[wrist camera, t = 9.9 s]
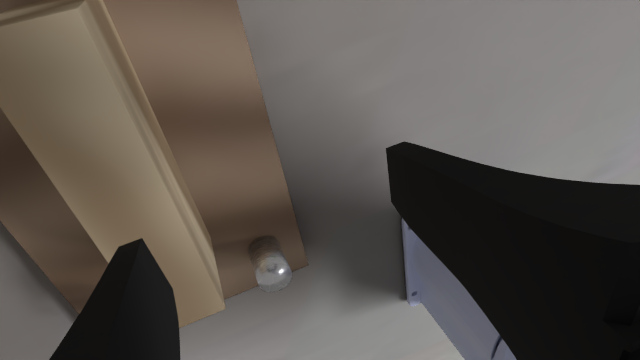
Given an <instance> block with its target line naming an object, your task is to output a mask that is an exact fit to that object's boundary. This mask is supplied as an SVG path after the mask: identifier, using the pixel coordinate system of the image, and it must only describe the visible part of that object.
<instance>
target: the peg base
mask: <svg viewBox="0 0 640 360" xmlns="http://www.w3.org/2000/svg"><path fill="white" fill-rule="evenodd" d="M40 1H44V0H0V14H1V13H3V12H4V11H6V10H8V9H10V8H14V7H18V6H23V5H27V4H31V3H35V2H40ZM103 2H104V4H105V6H106V8H107V11H108V13H109V15H110V17H111V19H112V22H113V24H114V26H115V28H116V30H117V33H118V35H119V37H120V39H121V41H122V44H123V46H124V48H125V50H126V52H127V55H128V57H129V59H130V61H131V63H132V66H133V68H134V70H135V72H136V74H137V77H138V79H139V81H140V83H141V85H142V88H143V90H144V92H145V94H146V96H147V99H148V101H149V103H150V105H151V107H152V110H153V112H154V114H155V116H156V118H157V121H158V123H159V125H160V127H161V129H162V132H163V134H164V136H165V138H166V140H167V143H168V145H169V147H170V149H171V151H172V154H173V156H174V158H175V160H176V162H177V165H178V167H179V169H180V171H181V173H182V176H183V178H184V180H185V182H186V184H187V187H188V189H189V191H190V193H191V195H192V198H193V200H194V202H195V204H196V206H197V209H198V211H199V213H200V215H201V217H202V220H203V222H204V224H205V226H206V228H207V231H208V233H209V235H210V238H211V242H212V247H213V251H214V256H215V261H216V265H217V270H218V275H219V279H220V284H221V289H222V293H223V298H224V299H227V298H229V297H232V296H234V295H237V294H239V293H242V292H244V291H246V290H249V289H251V288H254V287H256V286H259V287H260V288H261V289H262V290H263V291H266V292H275V291H279V290H281V289H283V288H284V287H286V286H287V285H288V284H289V282H290V281H291V279H292V272H293V271H295V270H298V269H300V268H303V267H305V266H308V261H307V257H306V254H305V250H304V246H303V243H302V239H301V235H300V232H299V228H298V224H297V221H296V217H295V213H294V210H293V206H292V202H291V199H290V195H289V191H288V188H287V184H286V180H285V177H284V173H283V169H282V166H281V162H280V158H279V155H278V151H277V147H276V144H275V140H274V137H273V133H272V129H271V126H270V122H269V118H268V115H267V111H266V107H265V104H264V100H263V96H262V93H261V89H260V85H259V82H258V78H257V74H256V71H255V67H254V63H253V60H252V56H251V52H250V49H249V45H248V41H247V38H246V34H245V30H244V27H243V23H242V19H241V16H240V12H239V8H238V5H237V1H236V0H103ZM0 221H1V222H2V224H3V225H4V226H5V227H6V228H7V230H8V231H9V232H10V233H11V234H12V235H13V237H14V238H15V239H16V240H17V241H18V243H19V244H20V245H21V246H22V247H23V249H24V250H25V251H26V252H27V253H28V254H29V256H30V257H31V258H32V259H33V260H34V262H35V263H36V264H37V265H38V266H39V268H40V269H41V270H42V271H43V272H44V273H45V275H46V276H47V277H48V278H49V279H50V281H51V282H52V283H53V284H54V285H55V286H56V288H57V289H58V290H59V291H60V292H61V294H62V295H63V296H64V297H65V298H66V300H67V301H68V302H69V303H70V304H71V305H72V307H73V308H74V309H75V310H76V311H77V313H78V314H80V312H81V311H82V309H83V308H84V306H85V304H86V302H87V301H88V299H89V297H90V296H91V294H92V292H93V290H94V289H95V287H96V285H97V284H98V282H99V280H100V278H101V277H102V275H103V273H104V271H105V269H106V268H107V266H108V264H109V263H108V262H107V261H106V259H105V258H104V256H103V255H102V253H101V252H100V250H99V249H98V248H97V246H96V245H95V243H94V242H93V240H92V239H91V238H90V236H89V235H88V233H87V232H86V230H85V229H84V227H83V226H82V225H81V223H80V222H79V220H78V219H77V217H76V216H75V214H74V213H73V212H72V210H71V209H70V207H69V206H68V204H67V203H66V201H65V200H64V199H63V197H62V196H61V194H60V193H59V191H58V190H57V188H56V187H55V186H54V184H53V183H52V181H51V180H50V178H49V177H48V175H47V174H46V173H45V171H44V170H43V168H42V167H41V165H40V164H39V163H38V161H37V160H36V158H35V157H34V155H33V154H32V152H31V151H30V150H29V148H28V147H27V145H26V144H25V142H24V141H23V139H22V138H21V137H20V135H19V134H18V132H17V131H16V129H15V128H14V126H13V125H12V124H11V122H10V121H9V119H8V118H7V116H6V115H5V113H4V112H3V111H2V109H1V108H0Z"/></svg>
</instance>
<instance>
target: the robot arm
mask: <svg viewBox="0 0 640 360" xmlns="http://www.w3.org/2000/svg"><path fill="white" fill-rule="evenodd" d="M386 154H387V163H388V173H389V183H390V193H391V202H392V203H393V205H394V206H395V208H396V209H397V211H398V212H399V214H400V215H401V217H402V234H403V248H404V263H405V277H406V291H407V302H408V303H409V305H410V306H415V305H417V304H420V303H422V304H423V305H424V306H425V308H426V309H427V310H428V312H429V313H430V314H431V316H432V317H433V318H434V319H435V321H436V322H437V323H438V325H439V326H440V327H441V329H442V330H443V331H444V333H445V334H446V335H447V337H448V338H449V339H450V341H451V342H452V343H453V345H454V346H455V347H456V349H457V350H458V351H459V353H460V354H461V355H462V357H463V358H464V359H465V360H640V185H628V184H607V183H592V182H582V181H572V180H563V179H555V178H548V177H542V176H536V175H530V174H524V173H519V172H514V171H509V170H504V169H500V168H496V167H492V166H488V165H484V164H480V163H476V162H473V161H469V160H466V159H462V158H459V157H455V156H452V155H449V154H445V153H442V152H439V151H436V150H433V149H429V148H426V147H423V146H419V145H416V144H412V143H408V142H402V143H399V144H396V145H393V146H391V147H388V148H386ZM408 226H409V227H408ZM49 360H180V340H179V321H178V314H177V308H176V303H175V297H174V292H173V288H172V286H171V285H170V283H169V282H168V280H167V278H166V277H165V275H164V273H163V272H162V270H161V268H160V267H159V265H158V263H157V262H156V260H155V258H154V257H153V255H152V253H151V252H150V250H149V249H148V247H147V245H146V244H145V242H144V240H143V239H142V238H141V239H138V240H135V241H133V242H130V243H127V244H124V245H122V246H119V247H118V249H117V250H116V252H115V253H114V255H113V257H112V259H111V260H110V262H109V264H108V266H107V268H106V269H105V271H104V273H103V275H102V277H101V278H100V280H99V282H98V284H97V285H96V287H95V289H94V290H93V292H92V294H91V296H90V297H89V299H88V301H87V302H86V304H85V306H84V308H83V309H82V311H81V312H80V314H79V316H78V317H77V319H76V320H75V322H74V323H73V325H72V326H71V328H70V329H69V331H68V332H67V334H66V336H65V337H64V339H63V340H62V342H61V343H60V345H59V346H58V348H57V349H56V351H55V352H54V354H53V355H52V356H51V358H50V359H49Z"/></svg>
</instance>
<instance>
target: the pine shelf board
mask: <svg viewBox="0 0 640 360" xmlns="http://www.w3.org/2000/svg"><path fill="white" fill-rule="evenodd" d="M0 108H1V109H2V111H3V112H4V113H5V115H6V116H7V118H8V119H9V121H10V122H11V124H12V125H13V126H14V128H15V129H16V131H17V132H18V134H19V135H20V137H21V138H22V139H23V141H24V142H25V144H26V145H27V147H28V148H29V150H30V151H31V152H32V154H33V155H34V157H35V158H36V160H37V161H38V163H39V164H40V165H41V167H42V168H43V170H44V171H45V173H46V174H47V175H48V177H49V178H50V180H51V181H52V183H53V184H54V186H55V187H56V188H57V190H58V191H59V193H60V194H61V196H62V197H63V199H64V200H65V201H66V203H67V204H68V206H69V207H70V209H71V210H72V212H73V213H74V214H75V216H76V217H77V219H78V220H79V222H80V223H81V225H82V226H83V227H84V229H85V230H86V232H87V233H88V235H89V236H90V238H91V239H92V240H93V242H94V243H95V245H96V246H97V248H98V249H99V250H100V252H101V253H102V255H103V256H104V258H105V259H106V261H107V262H108V263H109V262H110V260H111V259H112V257H113V255H114V253H115V252H116V250H117V249H118V247H119V246H122V245H124V244H127V243H130V242H133V241H135V240H138V239H141V238H142V239H143V240H144V242H145V244H146V245H147V247H148V249H149V250H150V252H151V253H152V255H153V257H154V258H155V260H156V262H157V263H158V265H159V267H160V268H161V270H162V272H163V273H164V275H165V277H166V278H167V280H168V282H169V283H170V285H171V286H172V288H173V292H174V297H175V303H176V308H177V314H178V321H179V328H181V327H183V326H185V325H188V324H190V323H193V322H195V321H197V320H200V319H202V318H205V317H207V316H210V315H212V314H214V313H217V312H219V311H222V310H224V309H226V307H225V303H224V298H223V293H222V289H221V284H220V279H219V275H218V270H217V265H216V261H215V256H214V251H213V247H212V242H211V238H210V235H209V233H208V231H207V228H206V226H205V224H204V222H203V220H202V217H201V215H200V213H199V211H198V209H197V206H196V204H195V202H194V200H193V198H192V195H191V193H190V191H189V189H188V187H187V184H186V182H185V180H184V178H183V176H182V173H181V171H180V169H179V167H178V165H177V162H176V160H175V158H174V156H173V154H172V151H171V149H170V147H169V145H168V143H167V140H166V138H165V136H164V134H163V132H162V129H161V127H160V125H159V123H158V121H157V118H156V116H155V114H154V112H153V110H152V107H151V105H150V103H149V101H148V99H147V96H146V94H145V92H144V90H143V88H142V85H141V83H140V81H139V79H138V77H137V74H136V72H135V70H134V68H133V66H132V63H131V61H130V59H129V57H128V55H127V52H126V50H125V48H124V46H123V44H122V41H121V39H120V37H119V35H118V33H117V30H116V28H115V26H114V24H113V22H112V19H111V17H110V15H109V13H108V11H107V8H106V6H105V4H104V2H103V0H44V1H40V2H35V3H31V4H27V5H23V6H18V7H14V8H10V9H8V10H6V11H4V12H3V13H1V14H0Z"/></svg>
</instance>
